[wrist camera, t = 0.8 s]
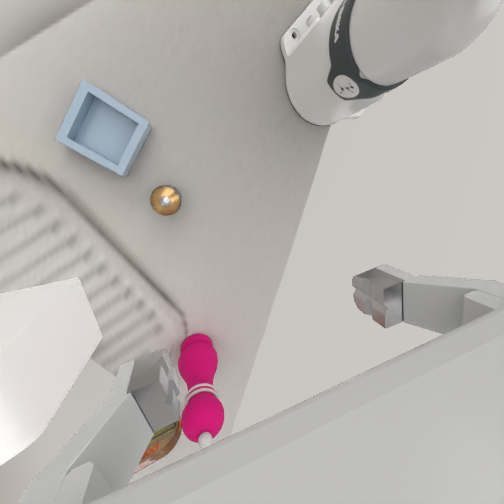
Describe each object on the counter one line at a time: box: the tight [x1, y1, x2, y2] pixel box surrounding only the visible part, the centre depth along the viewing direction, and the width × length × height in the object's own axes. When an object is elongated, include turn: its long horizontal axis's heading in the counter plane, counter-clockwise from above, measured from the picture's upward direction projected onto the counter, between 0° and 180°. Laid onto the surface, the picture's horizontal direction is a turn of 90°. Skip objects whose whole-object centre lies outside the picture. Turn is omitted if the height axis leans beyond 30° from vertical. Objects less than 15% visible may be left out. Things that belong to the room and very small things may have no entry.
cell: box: [150, 185, 181, 215], centre depth 36 cm, size 4×4×9 cm
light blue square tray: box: [55, 79, 152, 177], centre depth 33 cm, size 8×8×4 cm
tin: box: [134, 416, 182, 473], centre depth 46 cm, size 15×3×8 cm, turn 110°
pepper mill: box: [178, 334, 224, 449], centre depth 39 cm, size 7×7×20 cm
